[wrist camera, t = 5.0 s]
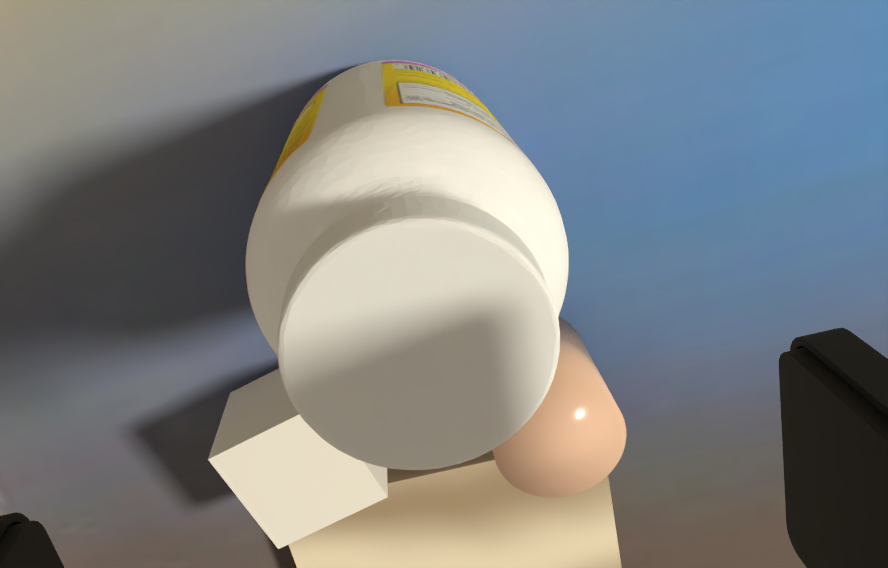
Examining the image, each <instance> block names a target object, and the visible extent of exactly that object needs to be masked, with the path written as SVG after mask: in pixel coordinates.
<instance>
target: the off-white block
mask: <svg viewBox="0 0 888 568" xmlns="http://www.w3.org/2000/svg"><path fill="white" fill-rule="evenodd" d="M208 460H209V462H210V463H211V464H212V465H213V467H214V468H215V469H216V470H217V472H218V473H219V474H220V476H221V477H222V478H223V479H224V481H225V482H226V483H227V484H228V486H229V487H230V488H231V490H232V491H233V492H234V493H235V495H236V496H237V497H238V498H239V500H240V501H241V502H242V504H243V505H244V506H245V507H246V509H247V510H248V511H249V512H250V514H251V515H252V516H253V518H254V519H255V520H256V521H257V523H258V524H259V525H260V526H261V528H262V529H263V530H264V532H265V533H266V534H267V535H268V537H269V538H270V539H271V540H272V542H273V543H274V544H275V546H276V547H277V548H278V549H280V548H282V547H284V546H286V545H288V544H290V543H293V542H295V541H297V540H299V539H301V538H303V537H305V536H307V535H309V534H311V533H314V532H316V531H318V530H320V529H322V528H324V527H326V526H328V525H330V524H333V523H335V522H337V521H339V520H341V519H343V518H345V517H347V516H349V515H352V514H354V513H356V512H358V511H360V510H362V509H364V508H366V507H368V506H371V505H373V504H375V503H377V502H379V501H381V500H383V499H385V498H387V497H388V486H387V468H385V467H380V466H376V465H372V464H369V463H366V462H363V461H361V460H357V459H355V458H353V457H351V456H349V455H347V454H345V453H343V452H341V451H339V450H338V449H336V448H335V447H333V446H332V445H330V444H329V443H327V442H326V441H325V440H324V439H322V438H321V437H320V436H319V435H318V434H317V433H316V432H315V431H314V430H313V429H312V428H311V427H310V426H309V425H308V424H307V423H306V422H305V421H304V420H303V418H302V417H301V416H300V414H299V413H298V412H297V410H296V409H295V407H294V405H293V404H292V402H291V400H290V398H289V397H288V394H287V392H286V390H285V387H284V385H283V382H282V378H281V375H280V371H279V368H278V369H276V370H274V371H272V372H270V373H268V374H266V375H264V376H262V377H260V378H259V379H257V380H255V381H253V382H251V383H249V384H247V385H245V386H243V387H241V388H239V389H237V390H235V391H233V392H231V393H230V394H229V398H228V401H227V404H226V407H225V410H224V413H223V416H222V419H221V422H220V425H219V428H218V431H217V434H216V437H215V440H214V443H213V446H212V449H211V452H210V455H209V458H208Z"/></svg>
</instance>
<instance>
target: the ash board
mask: <svg viewBox="0 0 888 568" xmlns="http://www.w3.org/2000/svg"><path fill="white" fill-rule="evenodd" d="M387 486H388V497H387V498H385V499H383V500H381V501H379V502H377V503H375V504H373V505H371V506H368V507H366V508H364V509H362V510H360V511H358V512H356V513H354V514H352V515H349V516H347V517H345V518H343V519H341V520H339V521H337V522H335V523H333V524H330V525H328V526H326V527H324V528H322V529H320V530H318V531H316V532H314V533H311V534H309V535H307V536H305V537H303V538H301V539H299V540H297V541H295V542H293V543H290V544H288V545H289V547H290V550H291V553H292V556H293V558H294V561H295V564H296V567H297V568H621V561H620V554H619V547H618V541H617V534H616V527H615V520H614V513H613V507H612V500H611V493H610V486H609V479H608V475H607V476H606V477H605V478H604V479H603V480H602V481H600V482H599V483H598V484H596V485H595V486H593V487H591V488H589V489H587V490H585V491H583V492H580V493H578V494H574V495H570V496H565V497H556V498H548V497H539V496H534V495H531V494H528V493H525V492H523V491H521V490H519V489H517V488H516V487H514V486H513V485H512V484H510V483H509V482H508V481H507V480H506V479H505V478H504V477H503V475H502V474H501V472H500V471H499V469H498V467H497V465H496V462H495V458H494V455H493V451H492V450H491V451H489V452H487V453H485V454H483V455H481V456H479V457H477V458H475V459H472V460H469V461H466V462H463V463H460V464H456V465H452V466H448V467H443V468H438V469H429V470H401V469H391V468H387Z"/></svg>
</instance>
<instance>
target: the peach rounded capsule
mask: <svg viewBox="0 0 888 568" xmlns="http://www.w3.org/2000/svg"><path fill="white" fill-rule="evenodd" d="M558 320H559V328H560V352H559V358H558V363H557V368H556V371H555V374H554V378H553V381H552V383H551V386H550V388H549V390H548V392H547V394H546V396H545V398H544V400H543V401H542V403H541V404H540V406H539V407H538V409H537V410H536V411H535V413H534V414H533V416H532V417H531V418H530V419H529V420H528V421H527V422H526V423H525V424H524V426H522V427H521V428H520V429H519V430H518V431H517V432H516V433H514V434H513V435H512V436H511V437H510V438H509V439H508V440H506V441H505V442H503V443H502V444H500V445H499V446H497V447H496V448H494V449H493V450H492V451H493V455H494V458H495V462H496V465H497V467H498V469H499V471H500V472H501V474H502V475H503V477H504V478H505V479H506V480H507V481H508V482H509V483H510V484H512V485H513V486H514V487H516V488H517V489H519V490H521V491H523V492H525V493H528V494H531V495H534V496H539V497H548V498H556V497H565V496H570V495H574V494H578V493H580V492H583V491H585V490H587V489H589V488H591V487H593V486H595V485H596V484H598V483H599V482H600V481H602V480H603V479H604V478H605V477H606V476H607V475H608V474H609V473H610V472H611V471H612V470H613V469H614V467H615V466H616V465H617V463H618V461H619V460H620V458H621V455H622V453H623V451H624V447H625V443H626V426H625V421H624V418H623V416H622V413H621V412H620V410H619V408H618V406H617V404H616V402H615V401H614V399H613V397H612V395H611V393H610V391H609V390H608V388H607V386H606V384H605V382H604V380H603V379H602V377H601V375H600V373H599V371H598V369H597V368H596V366H595V364H594V362H593V360H592V359H591V357H590V355H589V353H588V351H587V349H586V348H585V346H584V344H583V342H582V340H581V338H580V337H579V335H578V333H577V332H576V330H575V329H574V328H573V327H572V326H571V325H570V324H569V323H568V322H566V321H565V320H564V319H562V318H560V317H558Z"/></svg>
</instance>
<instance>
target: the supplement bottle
mask: <svg viewBox="0 0 888 568" xmlns="http://www.w3.org/2000/svg"><path fill="white" fill-rule="evenodd" d="M245 265H246V279H247V288H248V294H249V299H250V303H251V306H252V309H253V312H254V315H255V318H256V320H257V322H258V325H259V327H260V329H261V330H262V332H263V334H264V336H265V338H266V339H267V341H268V343H269V344H270V346H271V348H272V349H273V350H274V352H275V353H276V354H277V356H278V364H279V371H280V375H281V378H282V382H283V385H284V387H285V390H286V392H287V394H288V397H289V398H290V400H291V402H292V404H293V405H294V407H295V409H296V410H297V412H298V413H299V414H300V416H301V417H302V418H303V420H304V421H305V422H306V423H307V424H308V425H309V426H310V427H311V428H312V429H313V430H314V431H315V432H316V433H317V434H318V435H319V436H320V437H321V438H322V439H324V440H325V441H326V442H327V443H329V444H330V445H332V446H333V447H335V448H336V449H338V450H339V451H341V452H343V453H345V454H347V455H349V456H351V457H353V458H355V459H357V460H361V461H363V462H366V463H369V464H372V465H376V466H380V467H385V468H391V469H401V470H429V469H438V468H443V467H448V466H452V465H456V464H460V463H463V462H466V461H469V460H472V459H475V458H477V457H479V456H481V455H483V454H485V453H487V452H489V451H491V450H493V449H494V448H496V447H497V446H499V445H500V444H502V443H503V442H505V441H506V440H508V439H509V438H510V437H511V436H512V435H513V434H514V433H516V432H517V431H518V430H519V429H520V428H521V427H522V426H524V424H525V423H526V422H527V421H528V420H529V419H530V418H531V417H532V416H533V414H534V413H535V411H536V410H537V409H538V407H539V406H540V404H541V403H542V401H543V400H544V398H545V396H546V394H547V392H548V390H549V388H550V386H551V383H552V381H553V378H554V374H555V371H556V368H557V363H558V358H559V352H560V328H559V320H558V316H559V313H560V310H561V307H562V304H563V300H564V297H565V292H566V286H567V279H568V266H569V261H568V244H567V238H566V234H565V229H564V225H563V222H562V218H561V215H560V212H559V209H558V206H557V204H556V201H555V199H554V197H553V195H552V193H551V191H550V189H549V188H548V186H547V184H546V182H545V181H544V179H543V178H542V176H541V175H540V173H539V172H538V171H537V169H536V168H535V166H534V165H533V164H532V163H531V161H530V160H529V159H528V158H527V156H526V155H525V154H524V153H523V152H522V151H521V149H520V148H519V147H518V146H517V145H516V143H515V142H514V141H513V140H512V139H511V137H510V136H509V135H508V134H507V132H506V131H505V130H504V129H503V127H502V126H501V125H500V124H499V123H498V121H497V120H496V119H495V117H494V116H493V115H492V114H491V113H490V111H489V110H488V109H487V108H486V107H485V105H484V104H483V103H482V102H481V101H480V99H479V98H478V97H477V96H476V95H475V94H474V93H473V92H472V91H471V90H469V89H468V88H467V87H466V86H464V85H463V84H462V83H461V82H459V81H458V80H456V79H455V78H453V77H452V76H450V75H449V74H447V73H445V72H443V71H441V70H439V69H437V68H434V67H432V66H429V65H425V64H421V63H418V62H412V61H406V60H381V61H375V62H369V63H365V64H362V65H359V66H356V67H353V68H351V69H349V70H347V71H345V72H343V73H341V74H339V75H337V76H336V77H334V78H333V79H331V80H330V81H328V82H327V83H326V84H325V85H324V86H322V87H321V88H320V89H319V90H318V91H317V92H316V93H315V94H314V95H313V97H312V98H311V99H310V100H309V102H308V103H307V104H306V105H305V107H304V108H303V110H302V111H301V113H300V115H299V117H298V118H297V120H296V122H295V123H294V126H293V128H292V130H291V133H290V135H289V137H288V139H287V142H286V143H285V146H284V148H283V151H282V153H281V155H280V158H279V160H278V162H277V165H276V167H275V170H274V172H273V174H272V176H271V178H270V180H269V183H268V184H267V186H266V188H265V190H264V193H263V195H262V197H261V199H260V202H259V204H258V207H257V210H256V212H255V215H254V218H253V221H252V224H251V228H250V232H249V237H248V242H247V249H246V262H245Z"/></svg>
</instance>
